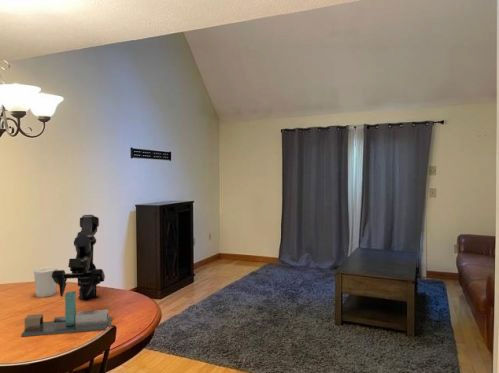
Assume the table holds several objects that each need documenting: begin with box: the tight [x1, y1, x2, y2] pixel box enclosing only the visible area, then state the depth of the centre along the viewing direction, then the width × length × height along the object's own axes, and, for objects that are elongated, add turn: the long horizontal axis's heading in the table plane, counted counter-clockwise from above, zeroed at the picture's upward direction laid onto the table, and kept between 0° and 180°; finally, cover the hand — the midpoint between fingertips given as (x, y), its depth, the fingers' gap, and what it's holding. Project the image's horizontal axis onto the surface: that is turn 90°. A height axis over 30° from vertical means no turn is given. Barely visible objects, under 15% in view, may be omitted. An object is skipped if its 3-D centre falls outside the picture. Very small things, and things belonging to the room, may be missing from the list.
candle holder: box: [33, 266, 58, 298], centre depth 177 cm, size 10×10×12 cm
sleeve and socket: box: [20, 308, 113, 337], centre depth 139 cm, size 29×10×5 cm, turn 102°
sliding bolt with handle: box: [53, 291, 77, 326], centre depth 140 cm, size 18×3×12 cm, turn 102°
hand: (74, 295), depth 143 cm, fingers open, 9 cm apart
